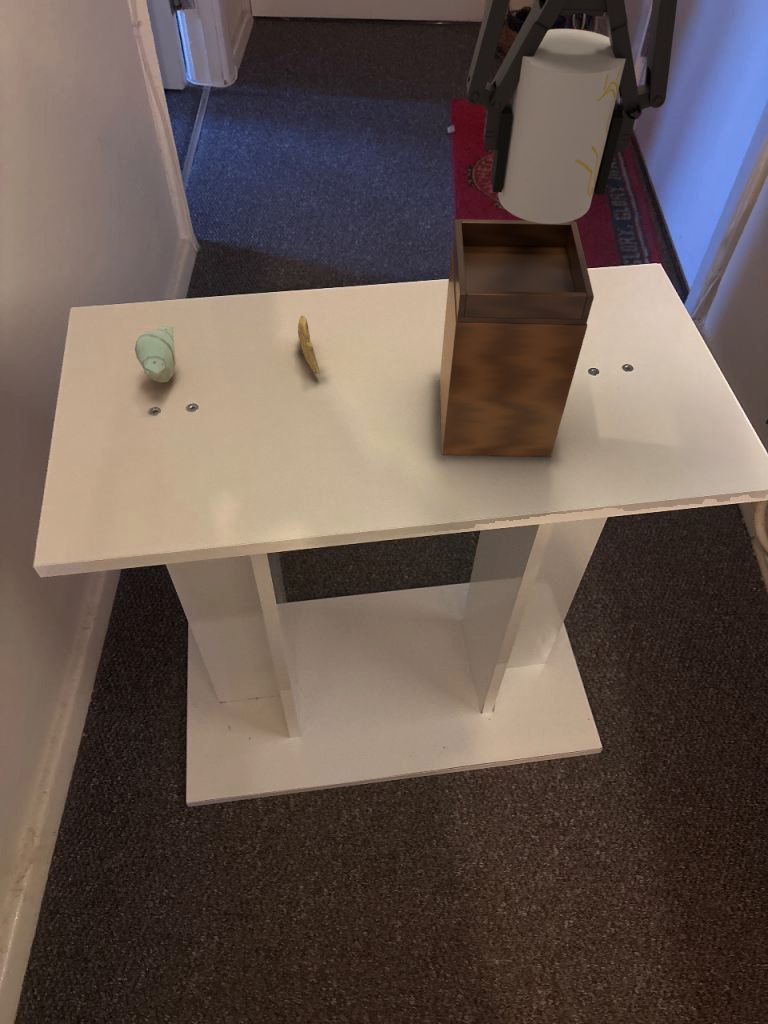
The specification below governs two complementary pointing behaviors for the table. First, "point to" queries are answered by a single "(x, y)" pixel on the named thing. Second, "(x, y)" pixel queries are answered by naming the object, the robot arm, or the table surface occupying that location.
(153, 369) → the pale green rounded piece
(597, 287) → the table surface
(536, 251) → the holder
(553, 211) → the white patterned cylinder
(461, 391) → the stand
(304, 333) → the pastry
